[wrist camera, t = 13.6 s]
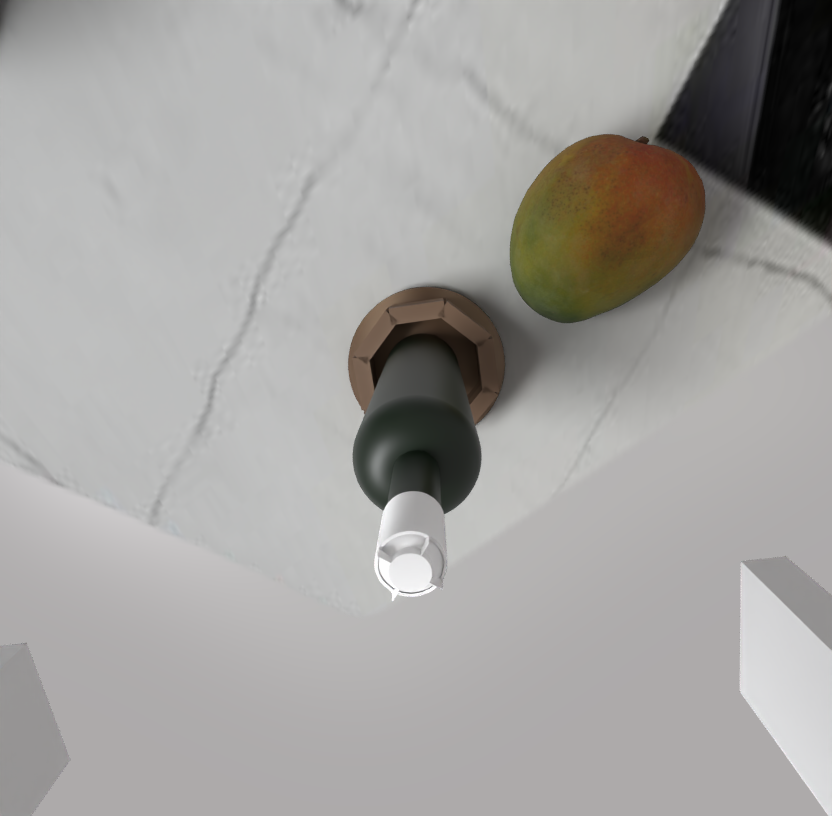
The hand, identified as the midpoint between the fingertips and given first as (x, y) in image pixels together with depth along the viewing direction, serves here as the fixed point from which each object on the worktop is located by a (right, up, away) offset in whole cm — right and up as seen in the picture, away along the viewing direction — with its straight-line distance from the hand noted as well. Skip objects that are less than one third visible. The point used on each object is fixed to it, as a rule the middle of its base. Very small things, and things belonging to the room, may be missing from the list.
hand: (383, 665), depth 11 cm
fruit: (+13, +18, +33) cm, 40 cm away
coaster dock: (+1, +8, +35) cm, 36 cm away
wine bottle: (+1, +8, +35) cm, 36 cm away
